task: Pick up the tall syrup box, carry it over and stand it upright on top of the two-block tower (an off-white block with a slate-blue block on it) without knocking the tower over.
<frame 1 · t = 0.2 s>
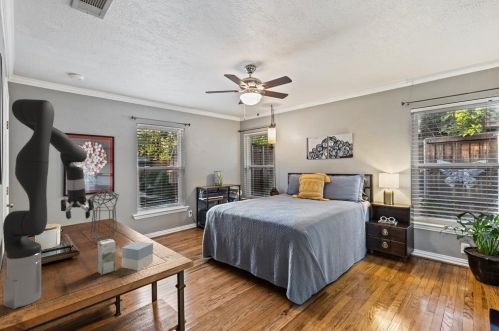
hand: (78, 218, 123), 22 cm above the table, tool pointing down, fingers open, 8 cm apart
syrup box: (106, 272, 112), on the table
tower top block: (137, 255, 120), point 5 cm above the table, touching tower base block
tower base block: (137, 265, 120), on the table, touching tower top block
geometric lantern: (104, 242, 154), on the table
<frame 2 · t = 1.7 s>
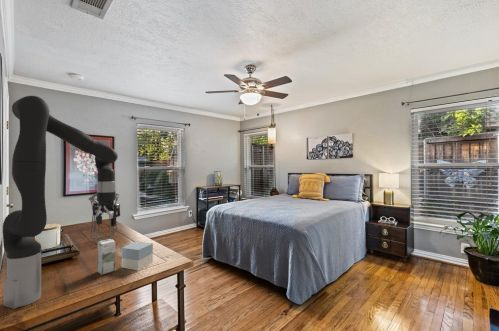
hand: (106, 225, 112), 22 cm above the table, tool pointing down, fingers open, 8 cm apart
nothing on the table moved.
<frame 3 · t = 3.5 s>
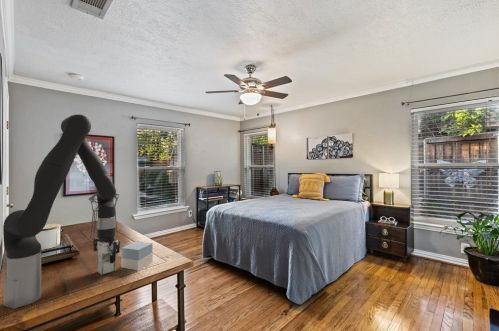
hand: (106, 261, 112), 5 cm above the table, tool pointing down, fingers closed on syrup box, 7 cm apart
syrup box: (106, 271, 112), on the table, touching gripper
everything else where it was.
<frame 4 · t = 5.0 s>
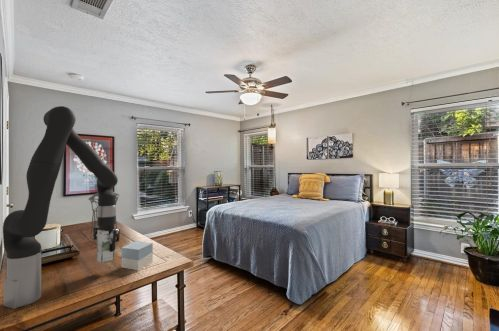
hand: (106, 250, 112), 10 cm above the table, tool pointing down, fingers closed on syrup box, 7 cm apart
syrup box: (105, 260, 112), point 5 cm above the table, touching gripper
everything else where it was.
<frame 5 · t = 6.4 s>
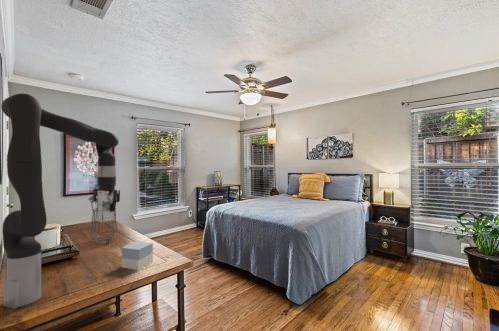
hand: (106, 210, 112), 29 cm above the table, tool pointing down, fingers closed on syrup box, 7 cm apart
syrup box: (106, 221, 112), point 24 cm above the table, touching gripper
everything else where it was.
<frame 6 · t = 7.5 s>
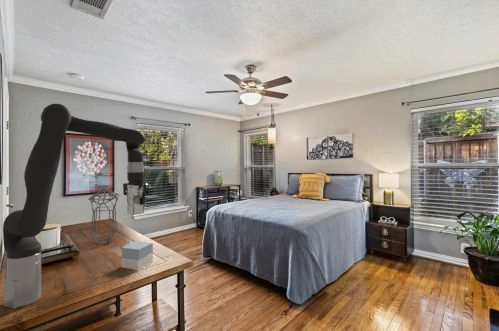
hand: (136, 204, 120), 31 cm above the table, tool pointing down, fingers closed on syrup box, 7 cm apart
syrup box: (135, 213, 120), point 26 cm above the table, touching gripper
everything else where it was.
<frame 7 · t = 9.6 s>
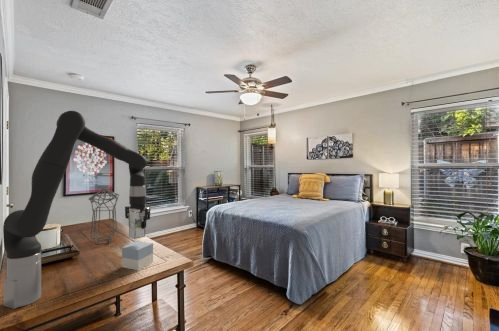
hand: (137, 227, 120), 19 cm above the table, tool pointing down, fingers closed on syrup box, 7 cm apart
syrup box: (137, 237, 120), point 14 cm above the table, touching gripper
everything else where it was.
when the fingers open (16 cm above the table, at t = 10.9 s): syrup box drops 1 cm, resting on tower top block.
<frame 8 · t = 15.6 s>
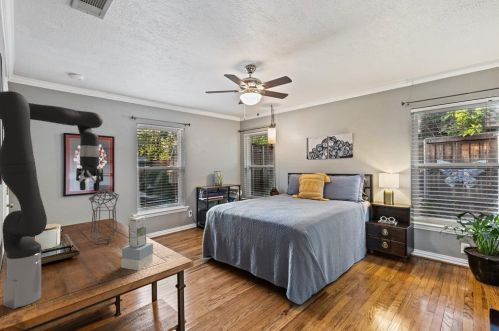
hand: (89, 190, 112), 38 cm above the table, tool pointing down, fingers open, 8 cm apart
syrup box: (138, 245, 120), point 10 cm above the table, touching tower top block
tower top block: (137, 255, 120), point 5 cm above the table, touching syrup box, tower base block
everything else where it was.
at the end: syrup box 0.1 cm off-centre on the tower top block, point 4.9 cm above the tower top block's base; syrup box tilted 2°; tower top block 0.3 cm off-centre on the tower base block, point 5.0 cm above the tower base block's base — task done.
